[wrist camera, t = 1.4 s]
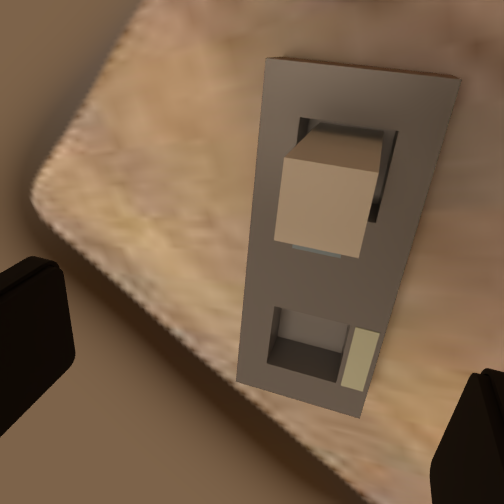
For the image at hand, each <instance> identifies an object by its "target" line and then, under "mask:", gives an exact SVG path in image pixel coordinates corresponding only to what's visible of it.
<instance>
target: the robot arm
mask: <svg viewBox="0 0 504 504" xmlns="http://www.w3.org/2000/svg"><path fill="white" fill-rule="evenodd" d="M74 359H75V347H74V340H73V333H72V327H71V320H70V313H69V307H68V300H67V293H66V287H65V280H64V274H63V271H62V270H61V269H60V268H59V265H58V264H57V263H56V262H54V261H52V260H48V259H43V258H39V257H35V256H31V257H28V258H26V259H24V260H22V261H20V262H19V263H17V264H15V265H14V266H12V267H10V268H9V269H7V270H5V271H3V272H1V273H0V437H1V436H2V435H3V434H4V433H5V432H6V431H7V430H8V429H9V428H10V427H11V426H12V425H13V424H14V423H15V422H16V421H17V420H18V419H19V417H21V416H22V415H23V414H24V412H26V411H27V410H28V409H29V408H30V407H31V406H32V405H33V403H35V402H36V401H37V400H38V399H39V398H40V397H41V396H42V395H43V393H45V392H46V391H47V389H48V388H49V387H51V386H52V384H54V383H55V382H56V381H57V379H59V378H60V377H61V376H62V375H63V374H64V373H65V372H66V371H67V370H68V369H69V367H70V366H71V365H72V363H73V361H74ZM430 486H431V496H432V504H504V372H501V371H497V370H493V369H488V368H486V369H484V370H483V371H482V372H481V374H478V373H472V374H471V376H470V377H469V379H468V382H467V384H466V386H465V388H464V391H463V393H462V395H461V397H460V399H459V402H458V404H457V406H456V408H455V410H454V413H453V415H452V417H451V419H450V421H449V424H448V426H447V428H446V430H445V433H444V435H443V437H442V439H441V441H440V444H439V446H438V448H437V450H436V452H435V455H434V457H433V459H432V462H431V467H430Z"/></svg>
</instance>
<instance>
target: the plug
mask: <svg viewBox="0 0 504 504" xmlns="http://www.w3.org/2000/svg"><path fill="white" fill-rule="evenodd" d="M383 133H384V131H379V130H372V129H365V128H358V127H351V126H344V125H337V124H330V123H322V122H319V123H318V124H317V125H316V126H315V127H314V128H313V129H312V130H311V131H310V132H309V133H308V134H307V135H306V136H305V137H304V138H303V139H302V140H301V141H300V142H299V143H298V144H297V145H296V146H295V147H294V148H293V149H292V150H291V151H290V152H289V153H288V154H287V155H286V156H285V157H284V162H283V170H282V178H281V186H280V194H279V202H278V210H277V219H276V227H275V235H274V240H275V241H280V242H284V243H289V244H293V245H292V248H295V249H299V250H304V251H309V252H313V253H318V254H323V255H327V256H332V257H337V258H341V255H346V256H350V257H355V258H359V254H360V250H361V246H362V241H363V237H364V233H365V229H366V225H367V220H368V216H369V212H370V208H371V203H372V199H373V195H374V191H375V187H376V182H377V178H378V174H379V167H380V158H381V150H382V141H383Z"/></svg>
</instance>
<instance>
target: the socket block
mask: <svg viewBox="0 0 504 504" xmlns="http://www.w3.org/2000/svg"><path fill="white" fill-rule="evenodd" d="M461 81H462V79H460V78H457V77H455V76H453V75H446V74H437V73H428V72H419V71H409V70H400V69H391V68H382V67H372V66H363V65H354V64H344V63H335V62H326V61H317V60H307V59H298V58H289V57H273V58H266V62H265V72H264V83H263V94H262V105H261V116H260V127H259V137H258V148H257V159H256V170H255V181H254V192H253V202H252V213H251V224H250V235H249V246H248V256H247V267H246V278H245V289H244V300H243V311H242V321H241V332H240V343H239V354H238V365H237V376H236V382H239V383H242V384H246V385H249V386H252V387H256V388H259V389H262V390H266V391H269V392H273V393H276V394H279V395H283V396H286V397H289V398H293V399H296V400H299V401H303V402H306V403H309V404H313V405H316V406H319V407H323V408H326V409H329V410H333V411H336V412H339V413H343V414H346V415H349V416H353V417H356V418H359V419H360V416H361V412H362V409H363V406H364V402H365V399H366V396H367V392H368V389H369V386H370V382H371V379H372V376H373V372H374V369H375V366H376V363H377V359H378V356H379V353H380V349H381V346H382V343H383V339H384V336H385V333H386V329H387V326H388V323H389V319H390V316H391V313H392V309H393V306H394V303H395V300H396V296H397V293H398V290H399V286H400V283H401V280H402V276H403V273H404V270H405V266H406V263H407V260H408V256H409V253H410V250H411V246H412V243H413V240H414V237H415V233H416V230H417V227H418V223H419V220H420V217H421V213H422V210H423V207H424V203H425V200H426V197H427V193H428V190H429V187H430V183H431V180H432V177H433V174H434V170H435V167H436V164H437V160H438V157H439V154H440V150H441V147H442V144H443V140H444V137H445V134H446V130H447V127H448V124H449V120H450V117H451V114H452V111H453V107H454V104H455V101H456V97H457V94H458V91H459V87H460V84H461ZM319 122H322V123H330V124H337V125H344V126H351V127H358V128H365V129H372V130H379V131H384V133H383V141H382V150H381V158H380V167H379V174H378V178H377V182H376V187H375V191H374V195H373V199H372V203H371V208H370V212H369V216H368V220H367V225H366V229H365V233H364V237H363V241H362V246H361V250H360V254H359V258H355V257H350V256H346V255H341V258H337V257H332V256H327V255H323V254H318V253H313V252H309V251H304V250H299V249H295V248H292V245H293V244H289V243H284V242H280V241H275V240H274V235H275V227H276V219H277V210H278V202H279V194H280V186H281V178H282V170H283V162H284V157H285V156H286V155H287V154H288V153H289V152H290V151H291V150H292V149H293V148H294V147H295V146H296V145H297V144H298V143H299V142H300V141H301V140H302V139H303V138H304V137H305V136H306V135H307V134H308V133H309V132H310V131H311V130H312V129H313V128H314V127H315V126H316V125H317V124H318V123H319Z"/></svg>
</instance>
